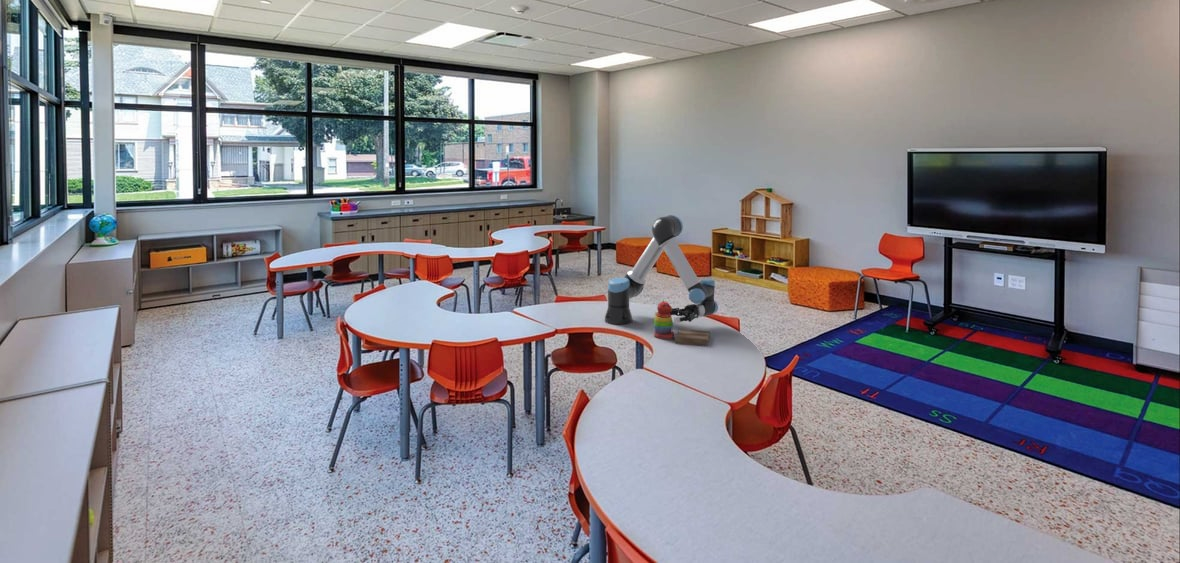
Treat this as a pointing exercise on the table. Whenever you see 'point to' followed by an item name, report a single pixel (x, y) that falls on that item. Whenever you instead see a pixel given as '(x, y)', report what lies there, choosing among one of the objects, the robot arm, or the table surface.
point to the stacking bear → (663, 322)
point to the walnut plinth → (693, 337)
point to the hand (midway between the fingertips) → (664, 317)
